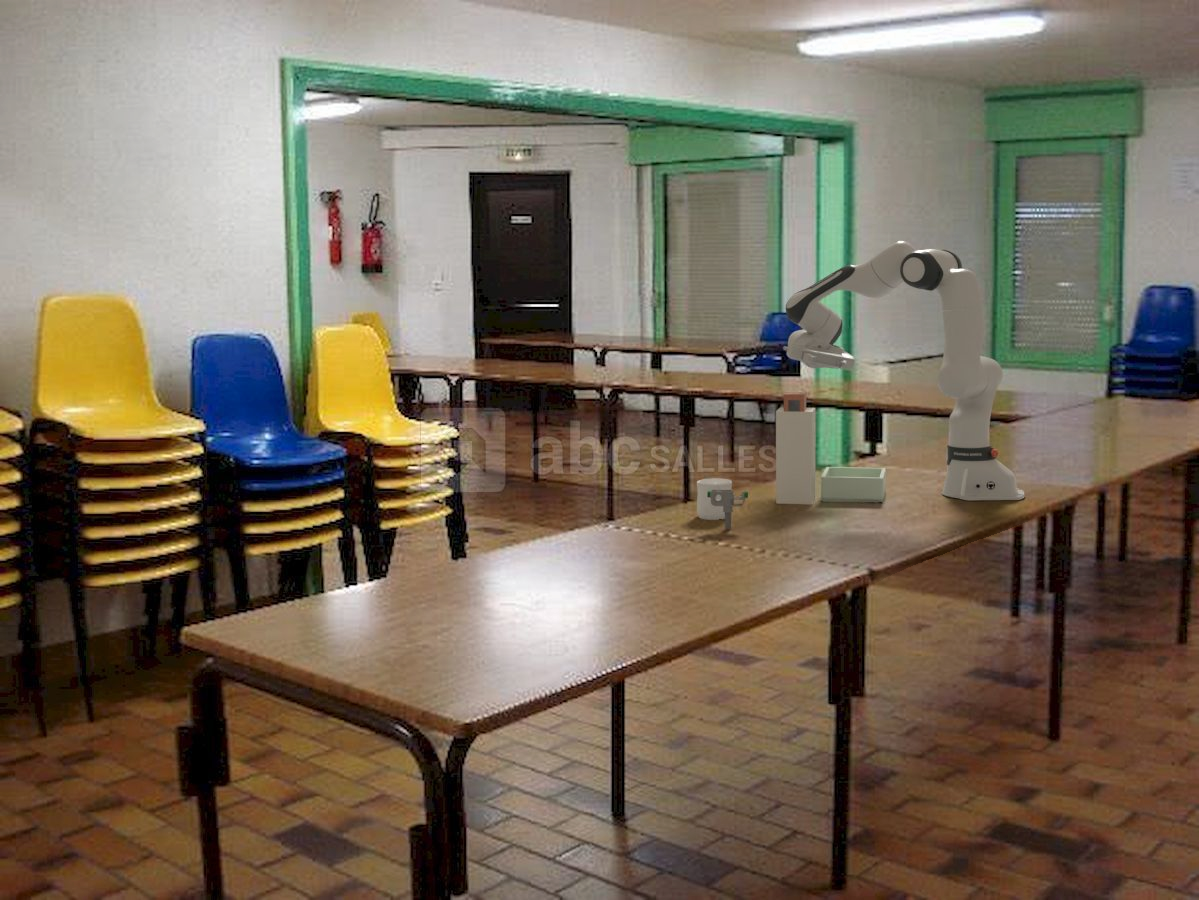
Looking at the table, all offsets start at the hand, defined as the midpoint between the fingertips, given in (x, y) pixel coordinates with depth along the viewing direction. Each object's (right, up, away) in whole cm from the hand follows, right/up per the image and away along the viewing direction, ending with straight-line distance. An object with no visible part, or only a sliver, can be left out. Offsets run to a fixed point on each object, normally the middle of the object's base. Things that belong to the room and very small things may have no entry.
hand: (828, 362), depth 381 cm
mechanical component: (-33, -46, -43) cm, 71 cm away
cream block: (-11, -40, -8) cm, 42 cm away
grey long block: (-10, -13, -8) cm, 19 cm away
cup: (-35, -43, -27) cm, 62 cm away
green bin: (+6, -38, -4) cm, 39 cm away
